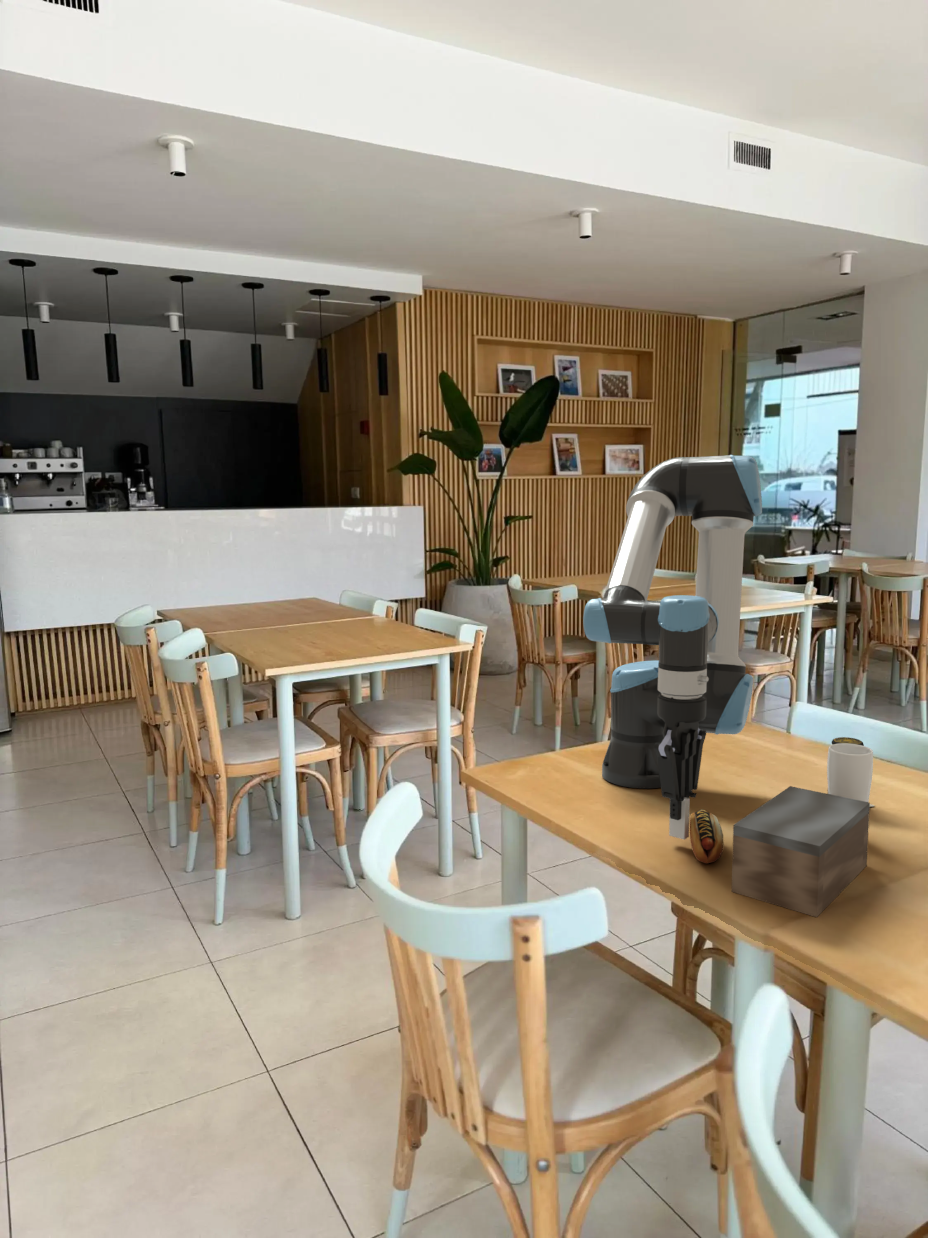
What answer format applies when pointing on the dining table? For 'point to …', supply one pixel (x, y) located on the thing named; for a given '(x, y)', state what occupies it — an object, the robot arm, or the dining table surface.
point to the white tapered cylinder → (850, 771)
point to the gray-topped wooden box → (800, 849)
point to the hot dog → (706, 836)
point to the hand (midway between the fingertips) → (678, 836)
